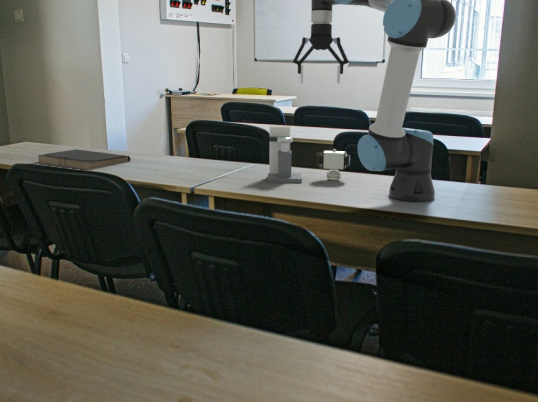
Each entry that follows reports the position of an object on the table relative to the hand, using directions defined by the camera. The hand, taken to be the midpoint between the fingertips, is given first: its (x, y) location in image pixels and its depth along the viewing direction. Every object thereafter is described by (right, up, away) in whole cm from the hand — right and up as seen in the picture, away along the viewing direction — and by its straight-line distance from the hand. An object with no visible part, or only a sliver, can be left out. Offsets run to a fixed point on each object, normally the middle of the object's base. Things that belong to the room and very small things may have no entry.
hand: (320, 83), depth 214 cm
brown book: (-102, -27, +45) cm, 115 cm away
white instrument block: (-14, -30, +9) cm, 35 cm away
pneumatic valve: (+6, -36, +10) cm, 37 cm away
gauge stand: (-13, -35, +10) cm, 39 cm away
